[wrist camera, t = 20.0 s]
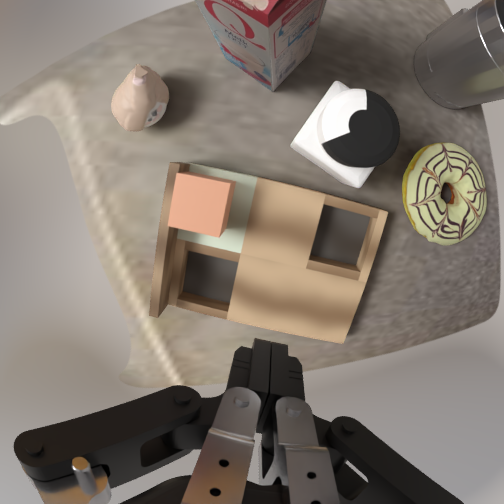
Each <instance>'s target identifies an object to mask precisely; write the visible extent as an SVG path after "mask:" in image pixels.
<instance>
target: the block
mask: <svg viewBox="0 0 504 504" xmlns="http://www.w3.org/2000/svg"><path fill="white" fill-rule="evenodd" d="M235 184H236V181H233V180H228V179H224V178H219V177H214V176H209V175H204V174H199V173H194V172H179V173H177V174H176V179H175V185H174V190H173V196H172V202H171V208H170V214H169V220H168V226H170V227H175V228H179V229H183V230H188V231H192V232H196V233H201V234H205V235H209V236H214V237H218V238H220V236H221V235H222V234H223V232H224V231H225V230H226V227H227V222H228V218H229V213H230V208H231V203H232V198H233V194H234V189H235Z"/></svg>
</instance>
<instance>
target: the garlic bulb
mask: <svg viewBox="0 0 504 504" xmlns="http://www.w3.org/2000/svg"><path fill="white" fill-rule="evenodd" d="M168 101H169V91H168V87H167V85H165V83H164V81H162V80H161V78H160V76H159V74H158V73H156V72H155V71H153V70H152V69H151V68H149V67H147V66H141V65H140V64H138V65H137V64H136V67H135V68H134V69H133V70H132V71H131V72H130V73H129V74H128V76H127V77H126V79H125V80H124V81H123V83H122V84H121V85H120V86H119V87H118V88H117V89H116V91H115V93H114V95H113V98H112V105H111V107H112V112H113V115H114V116H115V118H116V119H117V120H118V122H119V123H120V125H121V126H123V127H124V128H125V130H127V131H141V130H142V129H143V128H145V127H149V126H151V125H153V124H155V123H156V122H157V121H159V120H160V119H161V117H162V116H163V115H164V113H165V110H166V106H167V103H168Z"/></svg>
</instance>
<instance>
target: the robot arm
mask: <svg viewBox="0 0 504 504" xmlns="http://www.w3.org/2000/svg"><path fill="white" fill-rule="evenodd" d="M414 69H415V73H416V76H417V79H418V81H419V83H420V85H421V86H422V88H423V89H424V91H425V92H426V93H427V94H428V96H429V97H430V98H432V99H433V100H434V101H435V102H436V103H438V104H440V105H441V106H443V107H446V108H449V109H460V108H465V107H469V106H473V105H478V104H482V103H487V102H491V101H496V100H501V99H504V0H482V1H481V2H479V3H478V4H477V5H475V6H474V7H472V8H471V9H469V10H468V9H461V10H460V11H459V12H457V13H456V14H455V15H453V16H452V17H451V18H449V19H448V20H447V21H445V22H444V23H443V24H441V25H440V26H439V27H438V28H436V29H435V30H434V31H432V32H431V33H430V34H429V35H428V36H427V41H425V42H424V43H423V44H421V45H420V46H419V48H418V49H417V51H416V53H415V57H414ZM302 373H303V372H302V365H301V363H300V362H299V360H298V359H297V358H296V357H291V356H288V345H285V344H281V343H276V342H271V341H266V340H261V339H257V338H255V339H254V342H253V346H252V348H247V347H243V346H241V347H240V348H238V349H237V350H236V351H235V354H234V358H233V362H232V366H231V370H230V374H229V378H228V383H227V388H226V390H225V392H224V393H223V394H221V395H219V396H217V397H212V398H201V396H200V394H199V393H198V392H197V391H195V390H194V389H192V388H190V387H187V386H181V385H176V386H171V387H169V388H166V389H163V390H160V391H158V392H155V393H152V394H149V395H147V396H144V397H141V398H138V399H135V400H133V401H129V402H126V403H124V404H120V405H117V406H114V407H111V408H108V409H105V410H102V411H99V412H95V413H92V414H89V415H85V416H82V417H78V418H75V419H71V420H68V421H64V422H61V423H57V424H53V425H49V426H45V427H41V428H37V429H33V430H29V431H25V432H23V433H21V434H20V435H19V436H18V437H17V438H16V439H15V442H14V451H15V454H16V456H17V458H18V460H19V461H20V463H21V465H22V468H23V470H24V472H25V473H26V475H27V477H28V478H29V479H30V481H31V482H32V484H33V486H34V487H35V488H36V489H37V490H38V492H39V494H40V496H41V498H42V500H43V502H44V504H107V503H108V502H109V501H110V499H111V488H114V487H117V486H119V485H122V484H124V483H127V482H129V481H132V480H134V479H136V478H138V477H141V476H143V475H145V474H148V473H150V472H152V471H154V470H156V469H159V468H161V467H163V466H165V465H167V464H169V463H171V462H173V461H175V460H177V459H179V458H181V457H183V456H185V455H187V454H189V453H190V452H191V451H192V450H193V449H202V450H201V452H200V455H199V458H198V461H197V463H196V466H195V468H194V471H193V473H192V475H187V476H180V477H175V478H172V479H169V480H166V481H164V482H162V483H160V484H158V485H156V486H155V487H153V488H151V489H149V490H147V491H145V492H143V493H141V494H139V495H137V496H135V497H133V498H130V499H128V500H126V501H124V502H122V503H120V504H464V503H463V502H462V501H461V500H459V499H458V498H456V497H455V496H454V495H452V494H451V493H449V492H448V491H447V490H445V489H444V488H442V487H441V486H440V485H438V484H437V483H436V482H434V481H433V480H432V479H430V478H429V477H428V476H426V475H425V474H424V473H422V472H421V471H420V470H419V469H417V468H416V467H414V466H413V465H412V464H411V463H409V462H408V461H407V460H405V459H404V458H403V457H402V456H400V455H399V454H398V453H397V452H395V451H394V450H393V449H392V448H390V447H389V446H388V445H387V444H386V443H384V442H383V441H382V440H380V439H379V438H378V437H377V436H375V435H374V434H373V433H372V432H371V431H370V430H368V429H367V428H366V427H365V426H363V425H362V424H361V423H360V422H359V421H357V420H355V419H353V418H351V417H346V416H341V417H337V418H335V419H334V420H333V421H332V422H329V421H327V420H324V419H321V418H319V417H317V416H315V415H313V414H312V410H311V408H310V406H309V405H308V404H307V403H306V402H305V394H304V383H303V375H302ZM255 430H256V433H261V434H262V440H261V443H260V445H259V449H258V456H259V485H258V484H255V483H253V482H250V481H247V476H248V471H249V467H250V462H251V458H252V453H253V448H254V443H255V440H253V439H254V434H255ZM347 460H348V461H349V462H350V463H351V464H353V465H354V466H355V467H356V468H357V469H358V470H359V471H360V472H362V473H363V474H364V475H365V476H366V477H367V479H368V482H366V481H365V480H364V479H363V478H362V477H360V476H359V475H358V474H357V473H356V472H355V471H354V470H353V469H351V468H350V467H349V466H348V465H347V464H346V461H347Z"/></svg>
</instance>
